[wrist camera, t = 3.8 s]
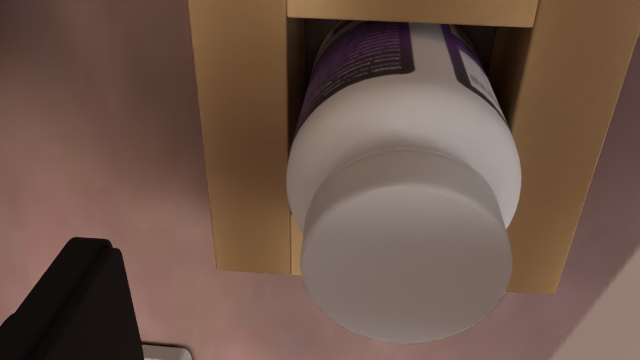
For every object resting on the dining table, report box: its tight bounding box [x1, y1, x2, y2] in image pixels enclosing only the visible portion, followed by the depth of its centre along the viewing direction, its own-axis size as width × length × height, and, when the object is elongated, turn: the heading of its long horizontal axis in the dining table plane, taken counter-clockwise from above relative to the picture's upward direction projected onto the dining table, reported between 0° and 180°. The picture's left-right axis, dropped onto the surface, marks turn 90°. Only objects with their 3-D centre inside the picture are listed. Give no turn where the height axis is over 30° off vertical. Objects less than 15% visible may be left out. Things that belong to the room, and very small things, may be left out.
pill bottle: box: [286, 20, 521, 343], centre depth 15 cm, size 5×5×10 cm
